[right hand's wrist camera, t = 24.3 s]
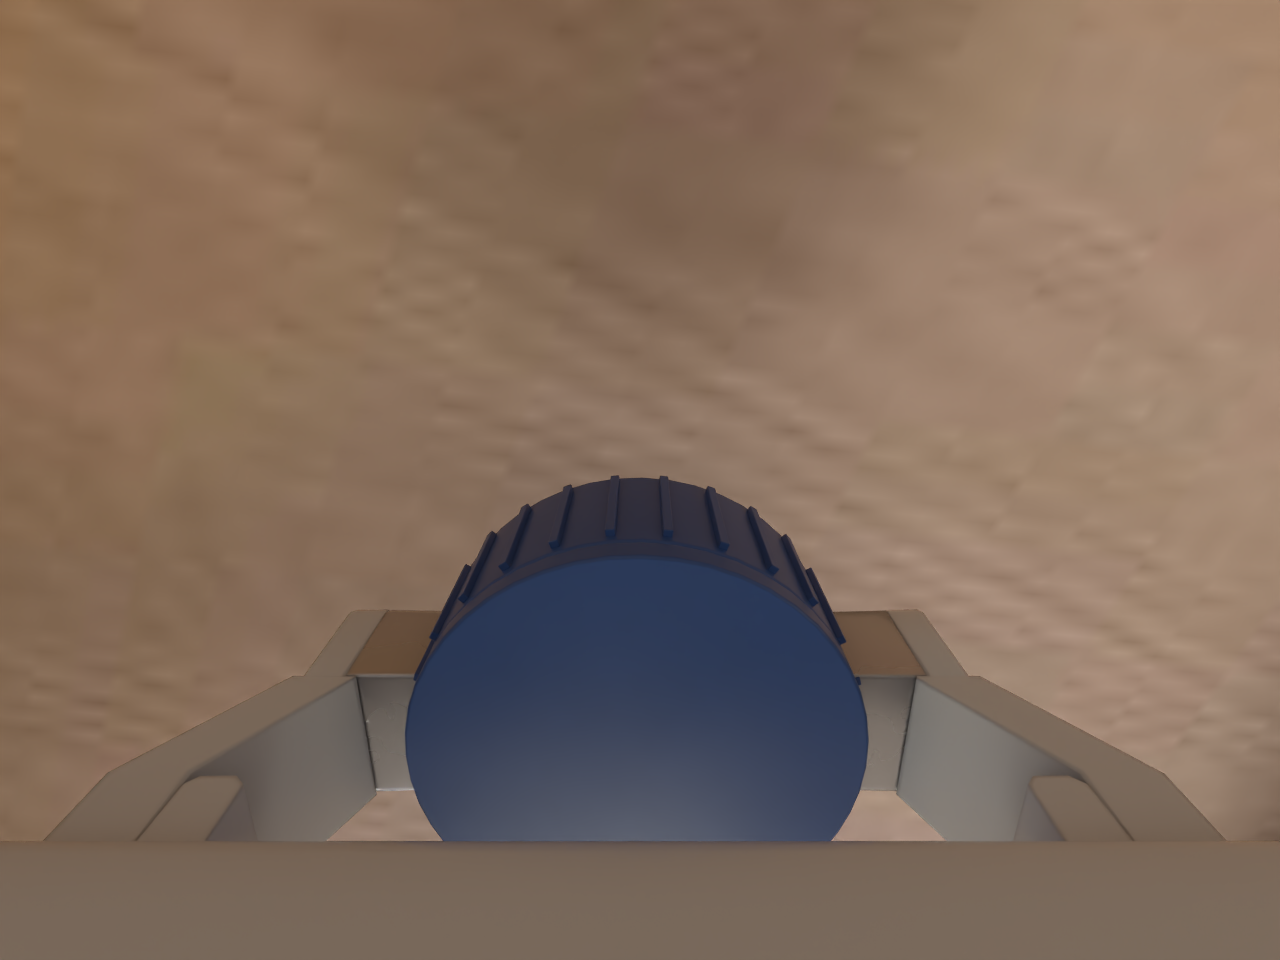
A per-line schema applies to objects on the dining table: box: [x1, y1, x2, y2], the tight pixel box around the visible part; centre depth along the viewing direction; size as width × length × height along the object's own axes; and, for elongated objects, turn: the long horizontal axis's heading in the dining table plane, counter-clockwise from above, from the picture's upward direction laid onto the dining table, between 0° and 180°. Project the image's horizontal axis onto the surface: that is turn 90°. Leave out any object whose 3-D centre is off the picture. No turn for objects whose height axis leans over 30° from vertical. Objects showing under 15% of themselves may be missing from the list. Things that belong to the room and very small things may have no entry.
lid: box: [405, 475, 869, 841], centre depth 9 cm, size 6×6×2 cm
